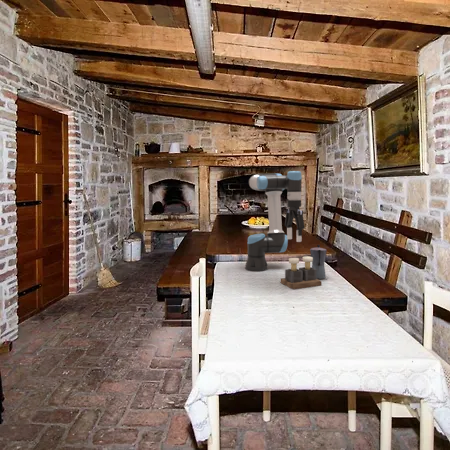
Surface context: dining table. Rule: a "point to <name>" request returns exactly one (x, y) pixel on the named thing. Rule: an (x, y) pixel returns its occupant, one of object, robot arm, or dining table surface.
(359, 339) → the dining table surface
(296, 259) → the plunger near
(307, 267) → the plunger far
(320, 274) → the moka pot
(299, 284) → the mount
